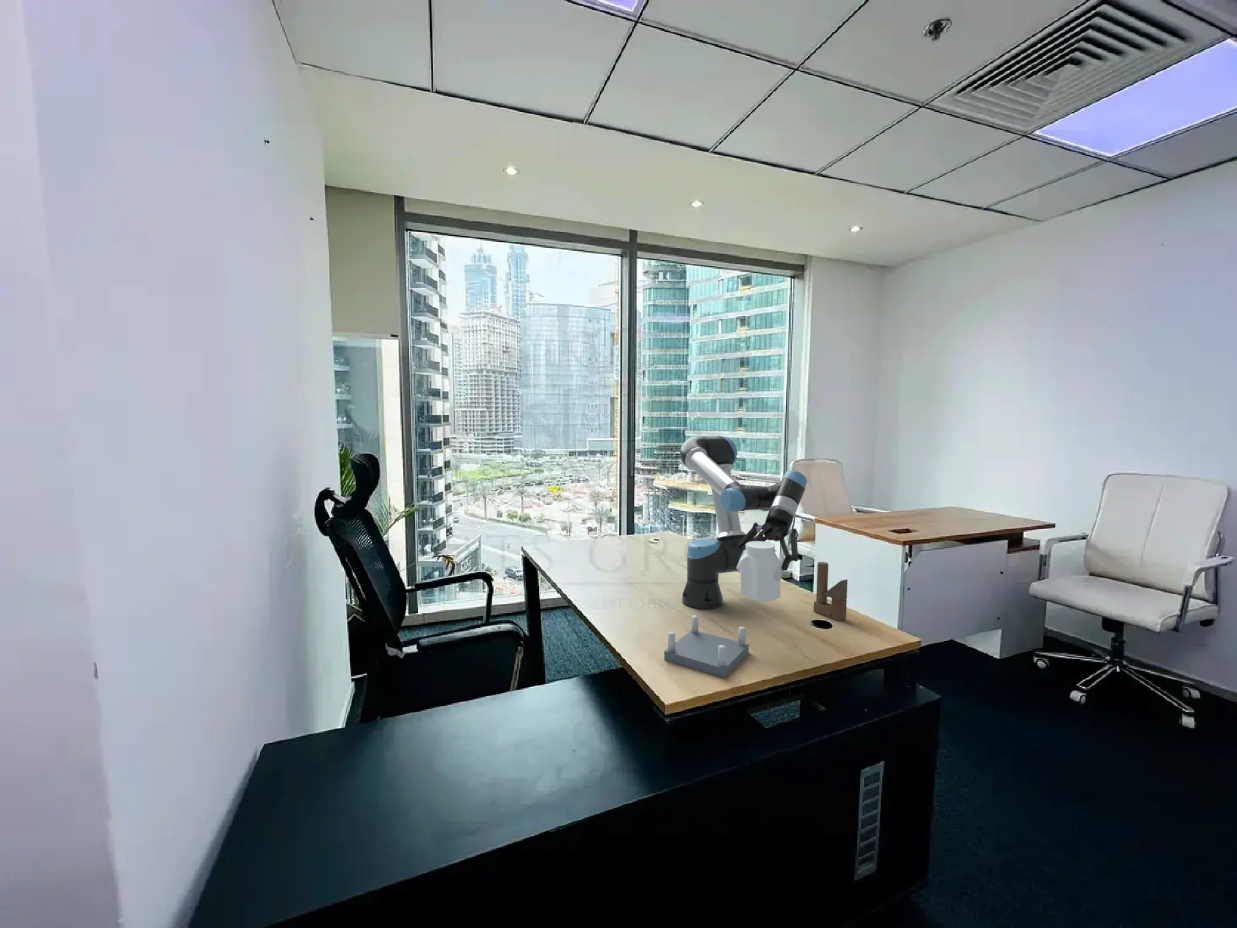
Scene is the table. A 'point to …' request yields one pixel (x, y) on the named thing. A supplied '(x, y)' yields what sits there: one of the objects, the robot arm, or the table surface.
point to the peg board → (707, 651)
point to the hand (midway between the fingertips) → (757, 574)
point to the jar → (759, 572)
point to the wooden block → (830, 595)
